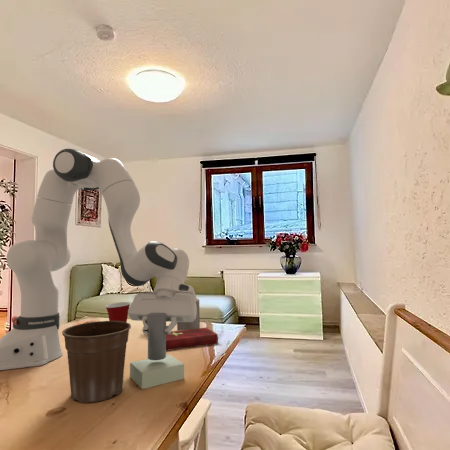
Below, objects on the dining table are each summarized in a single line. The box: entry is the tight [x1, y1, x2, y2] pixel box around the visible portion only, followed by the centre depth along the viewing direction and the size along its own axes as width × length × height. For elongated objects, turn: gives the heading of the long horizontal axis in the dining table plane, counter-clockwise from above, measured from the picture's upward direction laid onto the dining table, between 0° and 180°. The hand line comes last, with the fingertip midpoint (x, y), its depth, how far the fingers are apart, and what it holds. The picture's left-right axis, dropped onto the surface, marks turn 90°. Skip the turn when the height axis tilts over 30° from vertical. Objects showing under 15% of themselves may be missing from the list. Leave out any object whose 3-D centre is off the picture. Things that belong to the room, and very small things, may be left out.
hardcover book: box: [166, 327, 219, 351], centre depth 128 cm, size 12×21×4 cm, turn 113°
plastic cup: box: [104, 301, 131, 323], centre depth 147 cm, size 11×11×12 cm
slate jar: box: [147, 312, 167, 360], centre depth 94 cm, size 5×5×12 cm
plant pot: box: [62, 320, 132, 404], centre depth 84 cm, size 16×16×16 cm
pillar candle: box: [176, 297, 201, 331], centre depth 145 cm, size 10×10×15 cm
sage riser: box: [129, 354, 185, 390], centre depth 93 cm, size 12×10×4 cm
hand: (156, 332), depth 93 cm, fingers closed on slate jar, 5 cm apart
